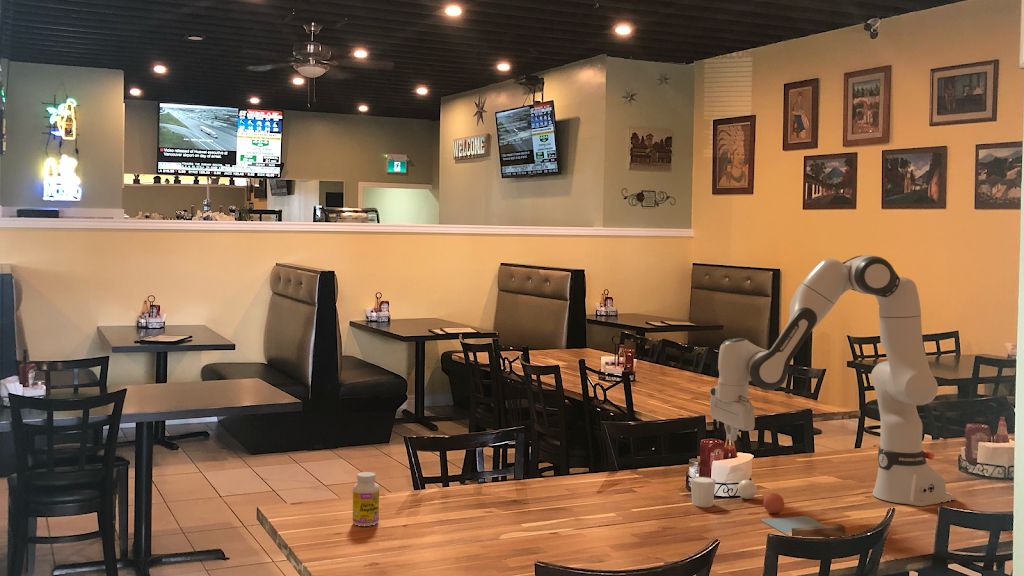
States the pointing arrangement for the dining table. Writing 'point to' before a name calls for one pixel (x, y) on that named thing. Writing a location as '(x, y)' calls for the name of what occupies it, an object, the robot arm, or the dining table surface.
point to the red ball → (773, 503)
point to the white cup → (702, 491)
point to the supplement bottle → (366, 500)
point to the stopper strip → (820, 531)
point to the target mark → (791, 523)
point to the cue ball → (747, 489)
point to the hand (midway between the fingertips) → (731, 439)
